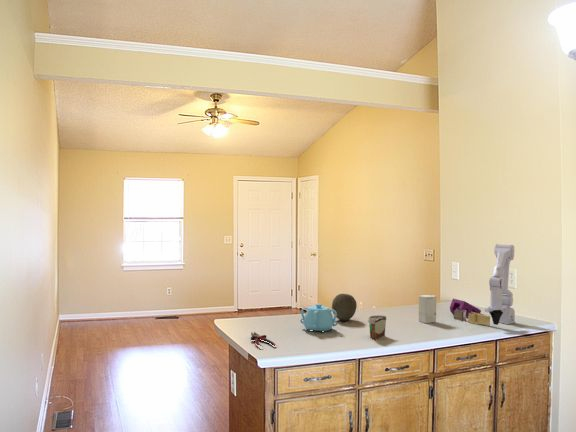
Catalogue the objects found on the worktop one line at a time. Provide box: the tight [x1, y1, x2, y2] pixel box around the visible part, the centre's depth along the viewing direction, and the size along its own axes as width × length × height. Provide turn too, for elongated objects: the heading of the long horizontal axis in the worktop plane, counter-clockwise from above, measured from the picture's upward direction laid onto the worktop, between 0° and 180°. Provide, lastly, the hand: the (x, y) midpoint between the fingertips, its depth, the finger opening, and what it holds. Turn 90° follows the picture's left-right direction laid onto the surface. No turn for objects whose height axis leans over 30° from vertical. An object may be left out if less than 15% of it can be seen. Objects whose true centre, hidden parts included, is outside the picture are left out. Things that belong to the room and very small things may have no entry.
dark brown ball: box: [331, 293, 357, 322], centre depth 277 cm, size 14×14×15 cm
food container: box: [367, 315, 387, 341], centre depth 241 cm, size 12×6×10 cm, turn 141°
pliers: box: [250, 331, 277, 346], centre depth 229 cm, size 3×9×22 cm
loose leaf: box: [467, 312, 491, 327], centre depth 270 cm, size 11×5×5 cm, turn 35°
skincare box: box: [418, 294, 437, 324], centre depth 275 cm, size 8×6×15 cm
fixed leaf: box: [453, 310, 467, 322], centre depth 280 cm, size 7×2×6 cm, turn 35°
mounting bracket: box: [449, 298, 482, 318], centre depth 295 cm, size 9×8×18 cm
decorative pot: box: [299, 303, 338, 332], centre depth 255 cm, size 16×16×14 cm
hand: (495, 324), depth 262 cm, fingers closed
